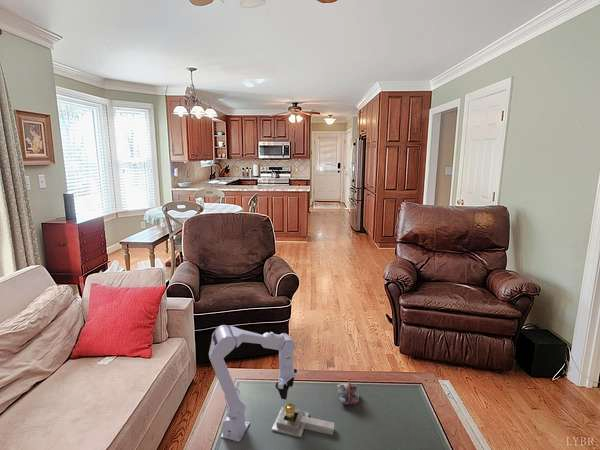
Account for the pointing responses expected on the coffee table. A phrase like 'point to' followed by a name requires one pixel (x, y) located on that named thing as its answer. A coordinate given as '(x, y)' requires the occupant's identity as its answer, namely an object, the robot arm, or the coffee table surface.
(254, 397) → the coffee table surface
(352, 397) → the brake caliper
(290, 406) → the pin
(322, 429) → the white stepped square fixture
